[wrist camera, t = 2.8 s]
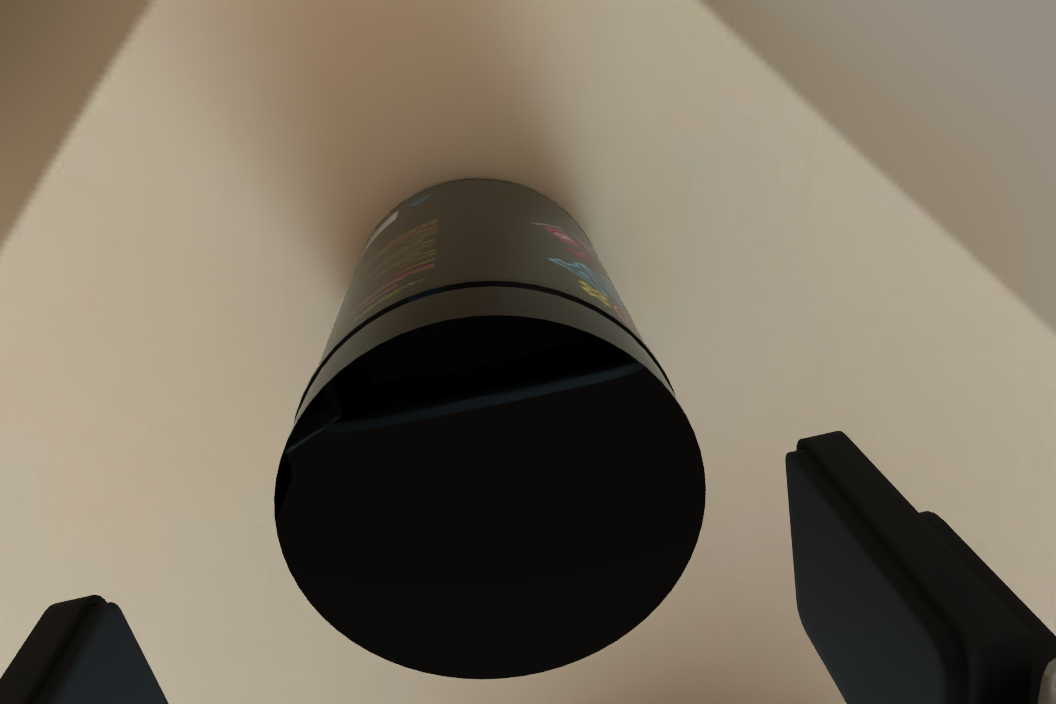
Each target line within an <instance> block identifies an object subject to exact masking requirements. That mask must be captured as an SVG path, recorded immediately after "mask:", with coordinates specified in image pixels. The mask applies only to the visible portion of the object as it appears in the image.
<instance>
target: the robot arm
mask: <svg viewBox="0 0 1056 704" xmlns="http://www.w3.org/2000/svg"><path fill="white" fill-rule="evenodd" d="M786 475H787V487H788V500H789V512H790V525H791V537H792V549H793V562H794V574H795V587H796V599H797V608H798V612H799V616H800V619H801V622H802V625H803V627H804V629H805V631H806V633H807V635H808V637H809V638H810V640H811V642H812V644H813V645H814V647H815V649H816V651H817V652H818V654H819V656H820V658H821V659H822V661H823V663H824V665H825V666H826V668H827V670H828V671H829V673H830V675H831V677H832V678H833V680H834V682H835V684H836V685H837V687H838V689H839V691H840V692H841V694H842V696H843V698H844V699H845V701H846V703H847V704H1056V636H1055V635H1054V634H1053V633H1052V632H1051V631H1050V630H1049V629H1048V628H1047V627H1046V626H1045V625H1044V624H1043V623H1042V622H1041V620H1040V619H1039V618H1038V617H1037V616H1036V615H1035V614H1034V613H1033V612H1032V611H1031V610H1030V609H1029V608H1028V607H1027V606H1026V605H1025V604H1024V603H1023V602H1022V601H1021V600H1020V599H1019V598H1018V597H1017V596H1016V595H1015V594H1014V593H1013V592H1012V591H1011V589H1010V588H1009V587H1008V586H1007V585H1006V584H1005V583H1004V582H1003V581H1002V580H1001V579H1000V578H999V577H998V576H997V575H996V574H995V573H994V572H993V571H992V570H991V569H990V568H989V567H988V566H987V565H986V564H985V563H984V562H983V561H982V560H981V558H980V557H979V556H978V555H977V554H976V553H975V552H974V551H973V550H972V549H971V548H970V547H969V546H968V545H967V544H966V543H965V542H964V541H963V540H962V539H961V538H960V537H959V536H958V535H957V534H956V533H955V532H954V531H953V530H952V529H951V527H950V526H949V525H948V524H947V523H946V522H945V521H944V520H943V519H941V518H940V517H939V516H938V515H936V514H935V513H932V512H929V511H925V512H921V513H918V512H917V511H916V509H915V508H914V507H913V506H912V505H911V504H910V503H909V502H908V501H907V500H906V499H905V498H904V497H903V496H902V494H901V493H900V492H899V491H898V490H897V489H896V488H895V487H894V486H893V485H892V484H891V483H890V482H889V481H888V479H887V478H886V477H885V476H884V475H883V474H882V473H881V472H880V471H879V470H878V469H877V468H876V467H875V466H874V464H873V463H872V462H871V461H870V460H869V459H868V458H867V457H866V456H865V455H864V454H863V453H862V452H861V451H860V449H859V448H858V447H857V446H856V445H855V444H854V443H853V442H852V441H851V440H850V439H849V438H848V437H847V436H846V434H844V433H843V432H842V431H835V432H831V433H826V434H822V435H817V436H813V437H808V438H804V439H800V440H799V441H798V443H797V451H794V452H789V453H787V454H786ZM0 704H168V702H167V700H166V698H165V696H164V694H163V692H162V690H161V688H160V686H159V684H158V682H157V680H156V678H155V676H154V674H153V672H152V670H151V668H150V666H149V664H148V662H147V660H146V658H145V656H144V654H143V652H142V650H141V648H140V646H139V644H138V642H137V641H136V639H135V637H134V635H133V633H132V631H131V629H130V627H129V625H128V623H127V621H126V619H125V617H124V615H123V613H122V611H121V609H120V608H119V606H118V605H116V604H115V603H112V602H109V603H107V602H106V601H105V599H103V598H102V597H101V596H98V595H91V596H87V597H82V598H78V599H73V600H69V601H64V602H60V603H55V604H53V605H51V606H49V608H48V609H47V610H46V611H45V612H44V614H43V615H42V617H41V618H40V620H39V621H38V623H37V624H36V626H35V627H34V629H33V630H32V632H31V633H30V635H29V636H28V638H27V639H26V641H25V642H24V644H23V645H22V647H21V648H20V650H19V651H18V653H17V654H16V656H15V657H14V659H13V660H12V662H11V664H10V665H9V667H8V668H7V670H6V671H5V673H4V674H3V676H2V677H1V679H0Z"/></svg>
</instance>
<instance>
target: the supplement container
mask: <svg viewBox="0 0 1056 704" xmlns="http://www.w3.org/2000/svg"><path fill="white" fill-rule="evenodd" d="M705 492H706V485H705V473H704V466H703V461H702V456H701V451H700V448H699V445H698V442H697V439H696V436H695V433H694V431H693V429H692V427H691V425H690V423H689V421H688V419H687V416H686V414H685V413H684V411H683V409H682V407H681V405H680V403H679V402H678V400H677V398H676V396H675V393H674V390H673V388H672V386H671V384H670V382H669V380H668V378H667V376H666V374H665V372H664V370H663V368H662V367H661V365H660V364H659V362H658V361H657V359H656V357H655V356H654V354H653V353H652V352H651V350H650V349H649V348H648V347H647V346H646V344H645V343H644V341H643V339H642V337H641V335H640V334H639V332H638V330H637V328H636V326H635V324H634V322H633V321H632V319H631V317H630V315H629V313H628V311H627V309H626V308H625V306H624V304H623V302H622V300H621V298H620V296H619V295H618V293H617V291H616V289H615V287H614V285H613V283H612V282H611V280H610V278H609V276H608V274H607V272H606V270H605V269H604V267H603V265H602V263H601V261H600V259H599V257H598V256H597V254H596V252H595V250H594V248H593V246H592V244H591V243H590V241H589V239H588V238H587V236H586V234H585V233H584V231H583V230H582V228H581V227H580V226H579V225H578V223H577V222H576V221H575V220H574V219H573V218H572V217H571V216H570V215H569V214H568V213H567V212H566V211H565V210H564V209H563V208H562V207H560V206H559V205H558V204H557V203H555V202H554V201H552V200H551V199H549V198H548V197H546V196H545V195H543V194H541V193H539V192H537V191H535V190H533V189H531V188H528V187H526V186H523V185H520V184H517V183H513V182H510V181H505V180H499V179H493V178H465V179H458V180H452V181H448V182H444V183H440V184H437V185H434V186H432V187H429V188H426V189H424V190H422V191H420V192H418V193H416V194H414V195H412V196H411V197H409V198H408V199H406V200H405V201H403V202H402V203H400V204H399V205H398V206H397V207H395V208H394V209H393V210H392V211H391V212H390V213H389V214H388V215H387V216H386V217H385V218H384V219H383V220H382V221H381V222H380V223H379V225H378V226H377V227H376V228H375V230H374V231H373V233H372V234H371V236H370V237H369V239H368V240H367V242H366V244H365V246H364V248H363V250H362V252H361V255H360V258H359V260H358V263H357V266H356V268H355V271H354V273H353V276H352V279H351V281H350V284H349V287H348V289H347V292H346V294H345V297H344V300H343V302H342V305H341V307H340V310H339V313H338V315H337V318H336V321H335V323H334V326H333V328H332V331H331V334H330V336H329V339H328V342H327V344H326V347H325V349H324V352H323V355H322V357H321V360H320V363H319V365H318V367H317V369H316V370H315V372H314V373H313V375H312V377H311V379H310V381H309V383H308V385H307V387H306V389H305V391H304V393H303V396H302V399H301V401H300V404H299V407H298V410H297V413H296V416H295V421H294V425H293V427H292V430H291V433H290V435H289V438H288V440H287V443H286V446H285V449H284V451H283V454H282V457H281V460H280V464H279V469H278V473H277V477H276V486H275V496H274V505H275V521H276V528H277V535H278V539H279V542H280V546H281V549H282V553H283V556H284V558H285V561H286V563H287V565H288V568H289V570H290V572H291V574H292V576H293V578H294V579H295V581H296V583H297V585H298V587H299V588H300V590H301V591H302V592H303V594H304V595H305V597H306V598H307V599H308V601H309V602H310V603H311V604H312V606H313V607H314V608H315V609H316V610H317V611H318V612H319V613H320V615H321V616H322V617H323V618H324V619H325V620H327V621H328V622H329V623H330V624H331V625H332V626H333V627H334V628H335V629H336V630H338V631H339V632H340V633H342V634H343V635H344V636H346V637H347V638H349V639H350V640H351V641H353V642H354V643H356V644H358V645H359V646H361V647H363V648H364V649H366V650H368V651H369V652H371V653H373V654H375V655H378V656H380V657H382V658H384V659H386V660H388V661H391V662H393V663H396V664H399V665H401V666H404V667H407V668H411V669H414V670H418V671H421V672H425V673H430V674H435V675H440V676H446V677H455V678H464V679H500V678H510V677H518V676H525V675H530V674H535V673H540V672H544V671H548V670H551V669H555V668H559V667H562V666H565V665H567V664H570V663H573V662H575V661H578V660H581V659H583V658H585V657H587V656H589V655H591V654H594V653H596V652H598V651H600V650H601V649H603V648H605V647H607V646H608V645H610V644H612V643H614V642H615V641H617V640H618V639H620V638H621V637H623V636H624V635H625V634H627V633H628V632H630V631H631V630H632V629H634V628H635V627H636V626H637V625H638V624H640V623H641V622H642V621H643V620H644V619H646V618H647V617H648V616H649V615H650V614H651V613H652V612H653V611H654V610H655V609H656V608H657V607H658V606H659V605H660V603H661V602H662V601H663V600H664V599H665V597H666V596H667V595H668V594H669V593H670V591H671V590H672V589H673V587H674V586H675V584H676V583H677V581H678V580H679V578H680V577H681V575H682V573H683V571H684V570H685V568H686V566H687V564H688V562H689V560H690V558H691V556H692V553H693V551H694V548H695V546H696V543H697V541H698V537H699V533H700V530H701V526H702V521H703V515H704V509H705Z"/></svg>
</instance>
